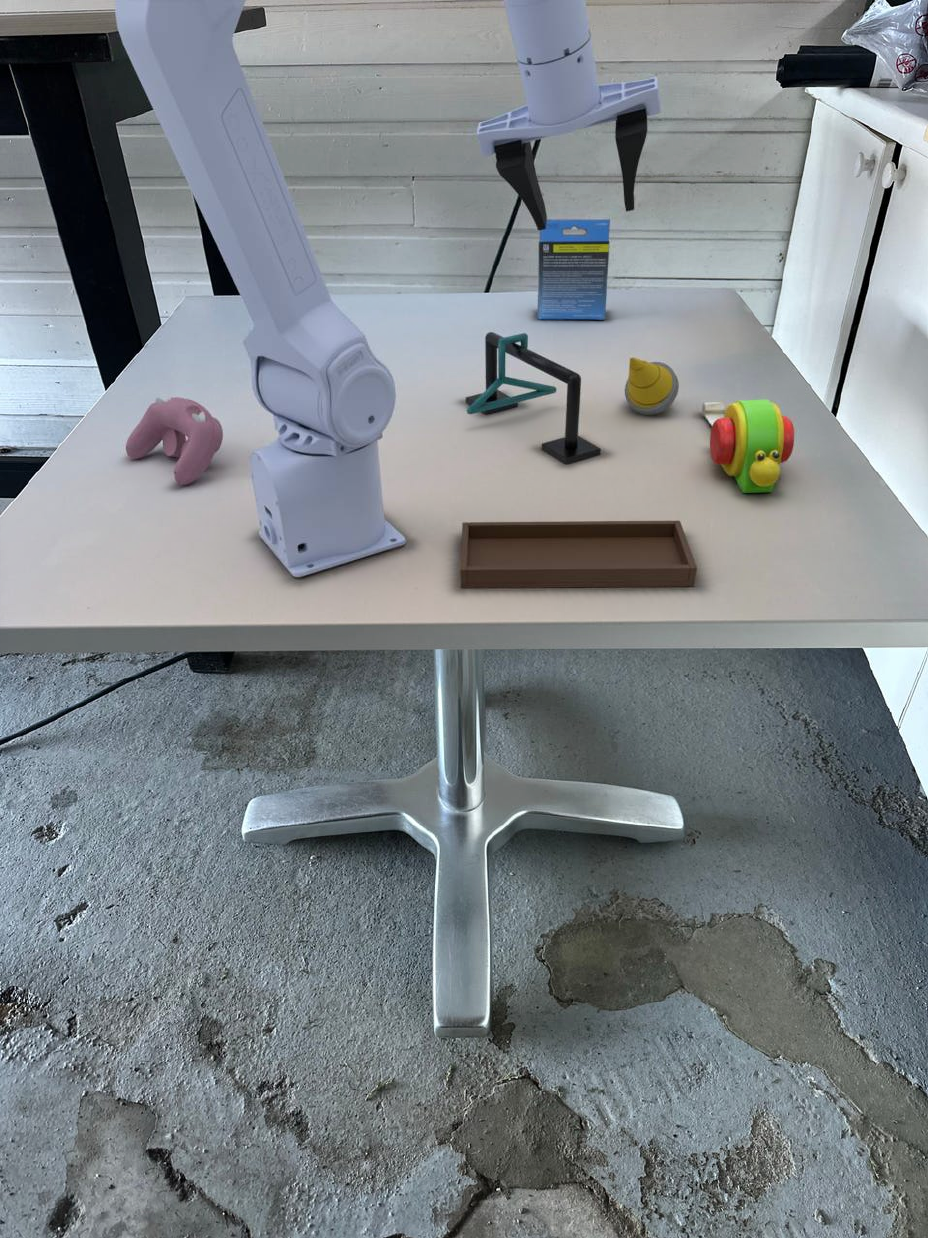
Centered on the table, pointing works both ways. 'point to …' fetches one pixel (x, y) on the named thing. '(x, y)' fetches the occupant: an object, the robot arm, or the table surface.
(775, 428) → the toy measuring tape
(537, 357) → the rail
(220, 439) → the video game controller
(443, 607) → the table surface
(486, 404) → the hanger
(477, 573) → the tray
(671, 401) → the yellow tiered cone
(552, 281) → the tape cartridge
